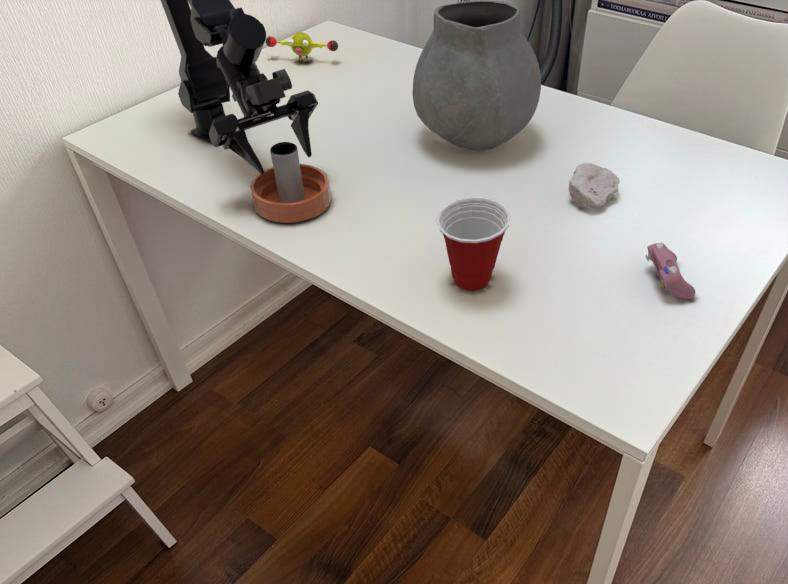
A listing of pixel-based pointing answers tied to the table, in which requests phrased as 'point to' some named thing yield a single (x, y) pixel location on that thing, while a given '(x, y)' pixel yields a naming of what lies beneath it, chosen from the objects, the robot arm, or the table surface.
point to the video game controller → (669, 271)
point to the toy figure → (301, 44)
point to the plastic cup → (473, 238)
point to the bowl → (298, 211)
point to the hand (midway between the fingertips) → (287, 164)
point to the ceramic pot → (476, 75)
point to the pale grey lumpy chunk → (592, 185)
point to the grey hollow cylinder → (287, 172)
